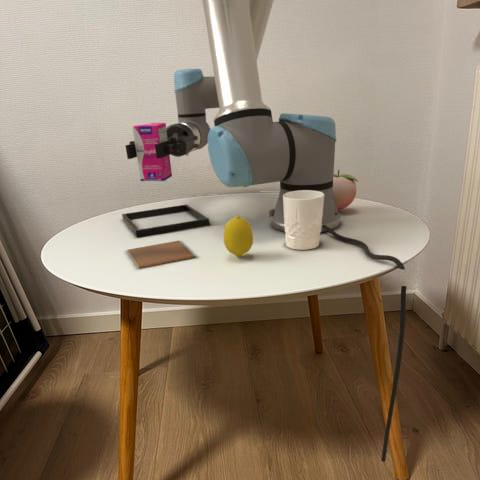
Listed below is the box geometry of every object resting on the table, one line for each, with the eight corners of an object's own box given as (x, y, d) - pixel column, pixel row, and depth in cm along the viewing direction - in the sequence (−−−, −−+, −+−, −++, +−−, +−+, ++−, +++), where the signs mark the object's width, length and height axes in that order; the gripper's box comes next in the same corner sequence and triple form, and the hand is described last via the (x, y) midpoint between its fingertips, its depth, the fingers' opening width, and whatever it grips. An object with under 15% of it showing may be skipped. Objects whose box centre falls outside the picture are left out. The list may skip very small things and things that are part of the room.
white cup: (321, 251, 83) (323, 199, 78) (280, 250, 85) (280, 199, 80) (322, 238, 90) (324, 189, 85) (285, 238, 91) (285, 190, 87)
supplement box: (139, 181, 95) (130, 125, 90) (149, 176, 101) (141, 123, 95) (164, 181, 94) (157, 124, 89) (172, 176, 100) (166, 122, 94)
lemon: (244, 264, 79) (242, 221, 75) (219, 259, 82) (216, 218, 78) (259, 254, 83) (257, 213, 79) (234, 251, 86) (232, 211, 82)
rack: (209, 225, 103) (209, 218, 102) (136, 237, 97) (135, 231, 97) (187, 209, 118) (186, 204, 117) (122, 219, 112) (121, 214, 111)
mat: (194, 257, 84) (194, 255, 84) (138, 268, 80) (138, 266, 80) (178, 242, 93) (178, 240, 92) (127, 251, 89) (127, 249, 89)
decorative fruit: (316, 216, 105) (317, 173, 100) (318, 207, 112) (320, 167, 107) (355, 216, 103) (359, 173, 98) (355, 208, 110) (359, 167, 105)
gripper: (217, 154, 109) (187, 169, 90) (149, 155, 114) (105, 171, 94) (215, 121, 106) (183, 130, 86) (144, 124, 110) (98, 133, 90)
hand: (142, 151), depth 90 cm, fingers closed on supplement box, 6 cm apart
